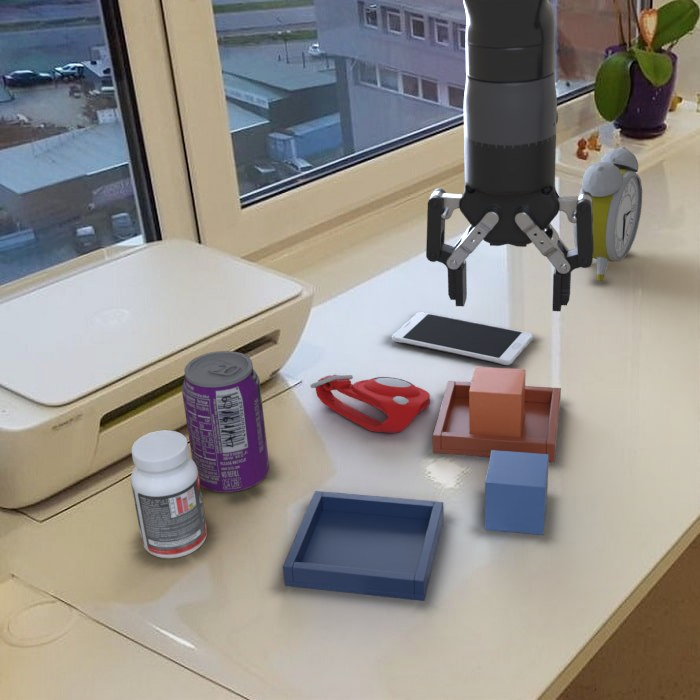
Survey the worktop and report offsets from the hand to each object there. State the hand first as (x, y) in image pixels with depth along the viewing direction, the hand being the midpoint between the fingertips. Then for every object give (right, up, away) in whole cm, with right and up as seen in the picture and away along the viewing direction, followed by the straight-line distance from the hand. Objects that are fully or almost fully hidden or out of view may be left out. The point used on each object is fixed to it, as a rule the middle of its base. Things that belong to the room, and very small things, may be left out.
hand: (509, 305), depth 95 cm
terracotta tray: (+1, -12, +11) cm, 16 cm away
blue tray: (-13, -21, -4) cm, 25 cm away
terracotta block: (0, -11, +11) cm, 16 cm away
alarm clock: (+18, +7, +45) cm, 49 cm away
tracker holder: (-12, -10, +16) cm, 22 cm away
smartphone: (-1, -3, +28) cm, 28 cm away
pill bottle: (-30, -21, -1) cm, 36 cm away
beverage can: (-25, -16, +7) cm, 31 cm away
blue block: (0, -19, -1) cm, 19 cm away
